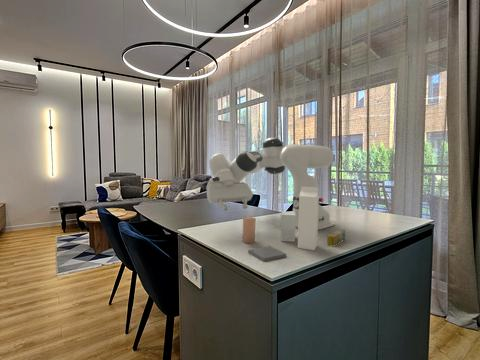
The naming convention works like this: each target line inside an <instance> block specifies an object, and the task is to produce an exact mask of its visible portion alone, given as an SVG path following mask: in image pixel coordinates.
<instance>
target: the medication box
mask: <svg viewBox="0 0 480 360" xmlns="http://www.w3.org/2000/svg"><path fill="white" fill-rule="evenodd" d="M326 238H327V246H330V245H333V246H332V247H335V246H334V245H336V244H337V245H339V244H340V243H339V242H341V241H342V240H344V239H345V240H346V229H345V230H344V229H337V230H336V231H333V232H332V233H329V234H328V235H327V237H326ZM345 240H344V241H345ZM342 242H343V241H342ZM342 242H341V243H342ZM338 243H339V244H338ZM337 245H336V246H337Z"/></svg>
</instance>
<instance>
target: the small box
mask: <svg viewBox="0 0 480 360" xmlns="http://www.w3.org/2000/svg"><path fill="white" fill-rule="evenodd" d="M295 225H296V214H295V212H292V211H284V210H283V211H281V215H280V242H290V243H291V242H292V243H294V242H296V227H295Z"/></svg>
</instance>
